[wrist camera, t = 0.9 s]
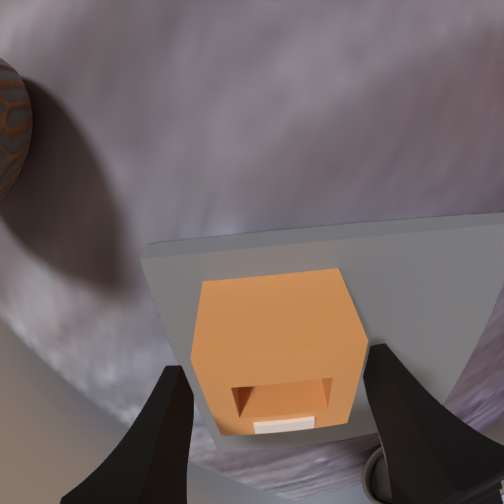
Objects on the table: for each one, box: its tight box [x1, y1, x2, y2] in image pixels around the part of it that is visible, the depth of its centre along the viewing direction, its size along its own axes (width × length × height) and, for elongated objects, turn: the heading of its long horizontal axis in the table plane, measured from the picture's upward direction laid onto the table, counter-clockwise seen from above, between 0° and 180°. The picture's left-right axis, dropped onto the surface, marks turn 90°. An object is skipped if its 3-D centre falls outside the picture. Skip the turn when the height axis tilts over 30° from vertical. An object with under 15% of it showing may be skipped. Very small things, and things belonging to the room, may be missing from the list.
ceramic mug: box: [362, 446, 392, 504], centre depth 23 cm, size 11×8×8 cm
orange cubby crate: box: [190, 268, 368, 436], centre depth 12 cm, size 5×5×4 cm
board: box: [140, 212, 504, 452], centre depth 17 cm, size 18×18×1 cm
